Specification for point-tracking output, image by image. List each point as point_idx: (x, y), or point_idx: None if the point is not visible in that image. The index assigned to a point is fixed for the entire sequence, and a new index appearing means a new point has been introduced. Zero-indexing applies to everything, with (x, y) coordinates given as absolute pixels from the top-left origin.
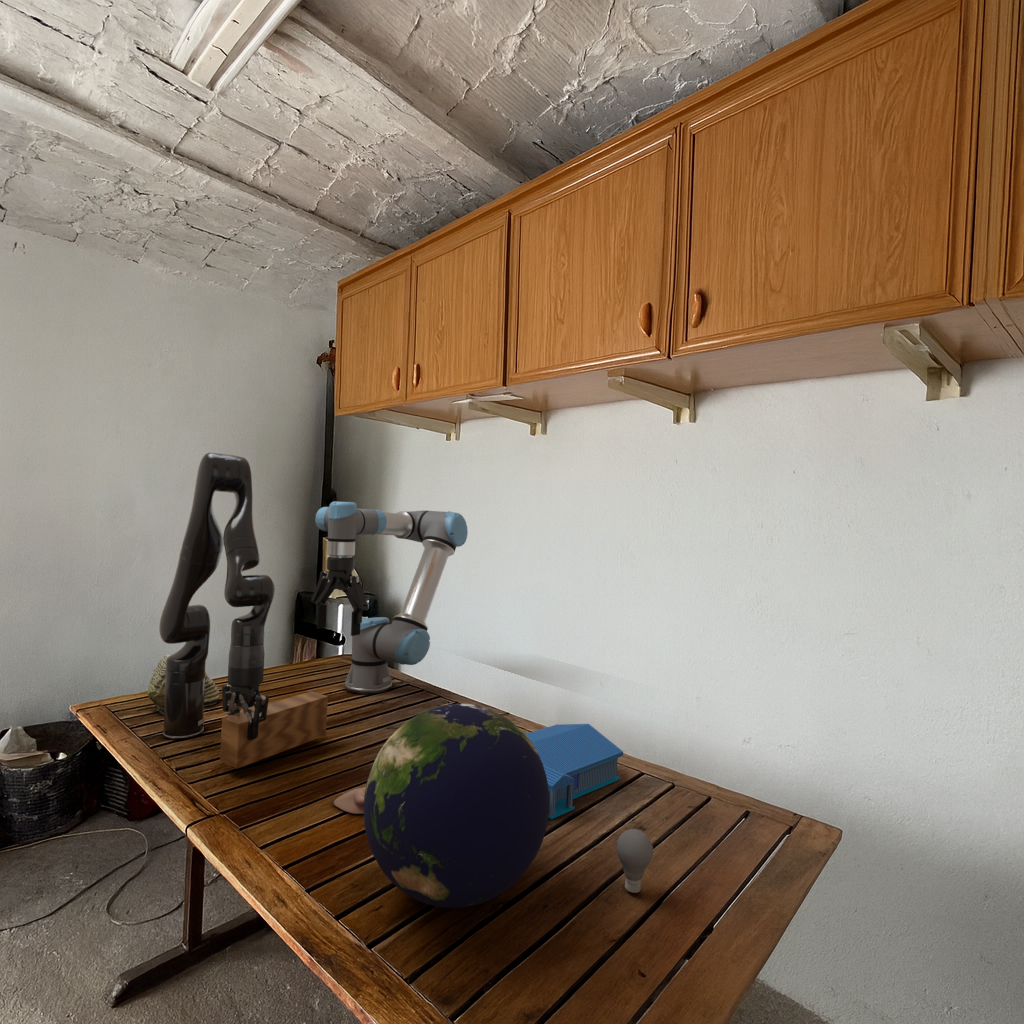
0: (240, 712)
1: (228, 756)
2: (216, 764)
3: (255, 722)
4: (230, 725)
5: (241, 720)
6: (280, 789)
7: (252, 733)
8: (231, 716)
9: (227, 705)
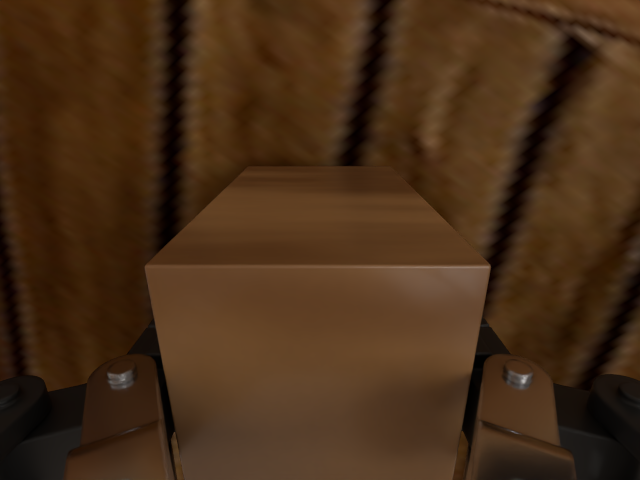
0: (447, 454)
1: (319, 174)
2: (458, 195)
3: (13, 384)
4: (309, 243)
5: (230, 344)
6: (27, 210)
7: None
8: (425, 346)
9: (636, 459)
